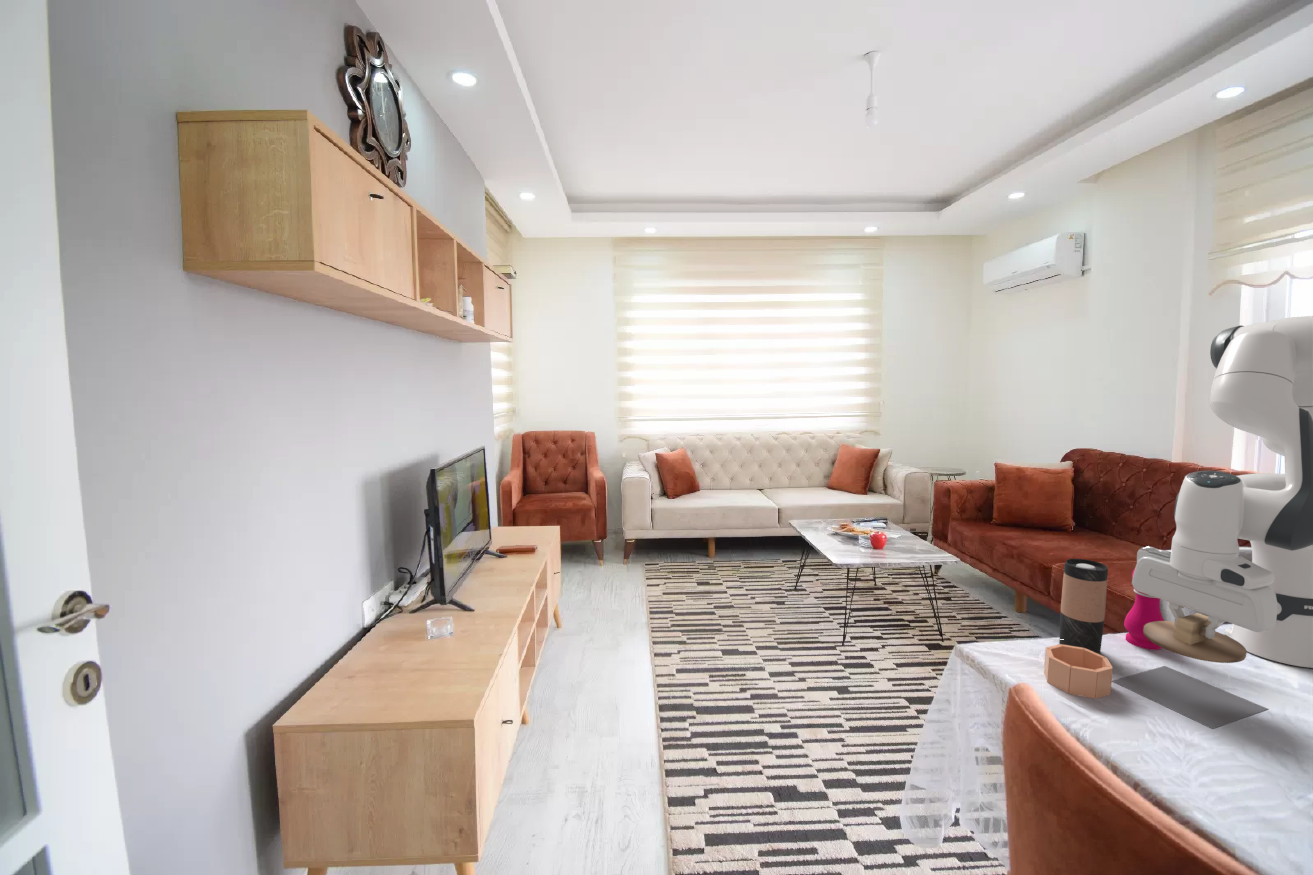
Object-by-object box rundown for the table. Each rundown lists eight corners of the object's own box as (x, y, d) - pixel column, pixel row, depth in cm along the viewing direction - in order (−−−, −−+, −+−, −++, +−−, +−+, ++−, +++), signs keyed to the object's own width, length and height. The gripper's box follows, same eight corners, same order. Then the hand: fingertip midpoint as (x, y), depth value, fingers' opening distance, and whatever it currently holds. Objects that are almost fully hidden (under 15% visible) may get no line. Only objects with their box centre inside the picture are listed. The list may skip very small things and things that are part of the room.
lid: (1172, 619, 116) (1175, 597, 115) (1264, 653, 103) (1268, 628, 102) (1125, 632, 111) (1128, 609, 110) (1215, 669, 98) (1218, 643, 97)
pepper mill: (1173, 655, 124) (1182, 565, 121) (1134, 652, 125) (1142, 564, 123) (1151, 639, 131) (1159, 554, 128) (1115, 637, 132) (1122, 553, 130)
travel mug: (1110, 661, 122) (1118, 570, 119) (1074, 661, 122) (1081, 570, 119) (1083, 643, 129) (1090, 558, 127) (1049, 644, 129) (1055, 558, 127)
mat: (1164, 669, 118) (1164, 665, 118) (1267, 713, 103) (1268, 708, 103) (1111, 684, 113) (1111, 680, 113) (1211, 733, 98) (1212, 728, 98)
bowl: (1068, 669, 119) (1070, 641, 118) (1120, 694, 109) (1123, 665, 109) (1032, 678, 115) (1034, 650, 115) (1084, 705, 106) (1086, 675, 105)
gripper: (1128, 545, 113) (1121, 611, 115) (1265, 584, 94) (1254, 662, 96) (1149, 541, 115) (1142, 606, 117) (1288, 578, 96) (1276, 655, 98)
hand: (1193, 632), depth 107 cm, fingers closed on lid, 2 cm apart
